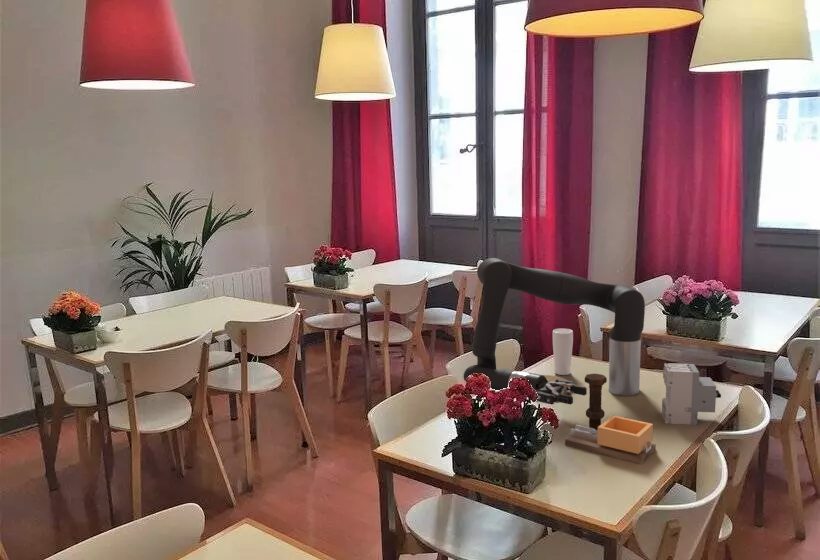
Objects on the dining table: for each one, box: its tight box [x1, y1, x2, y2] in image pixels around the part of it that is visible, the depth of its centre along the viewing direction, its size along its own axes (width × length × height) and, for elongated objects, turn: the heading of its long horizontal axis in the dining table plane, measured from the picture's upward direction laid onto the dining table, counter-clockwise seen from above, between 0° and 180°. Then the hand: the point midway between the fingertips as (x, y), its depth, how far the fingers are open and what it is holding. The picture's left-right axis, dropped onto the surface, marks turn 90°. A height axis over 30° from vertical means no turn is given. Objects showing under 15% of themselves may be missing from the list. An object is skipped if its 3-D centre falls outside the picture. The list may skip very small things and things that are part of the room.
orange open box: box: [597, 415, 654, 454], centre depth 175 cm, size 10×10×4 cm
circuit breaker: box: [661, 362, 722, 426], centre depth 193 cm, size 8×14×15 cm, turn 78°
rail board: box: [564, 434, 657, 465], centre depth 178 cm, size 10×20×2 cm, turn 51°
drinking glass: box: [552, 328, 574, 376], centre depth 237 cm, size 7×7×15 cm
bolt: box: [584, 373, 608, 429], centre depth 189 cm, size 6×5×15 cm
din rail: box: [570, 424, 652, 453], centre depth 178 cm, size 4×20×2 cm, turn 51°
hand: (579, 396), depth 192 cm, fingers open, 8 cm apart
